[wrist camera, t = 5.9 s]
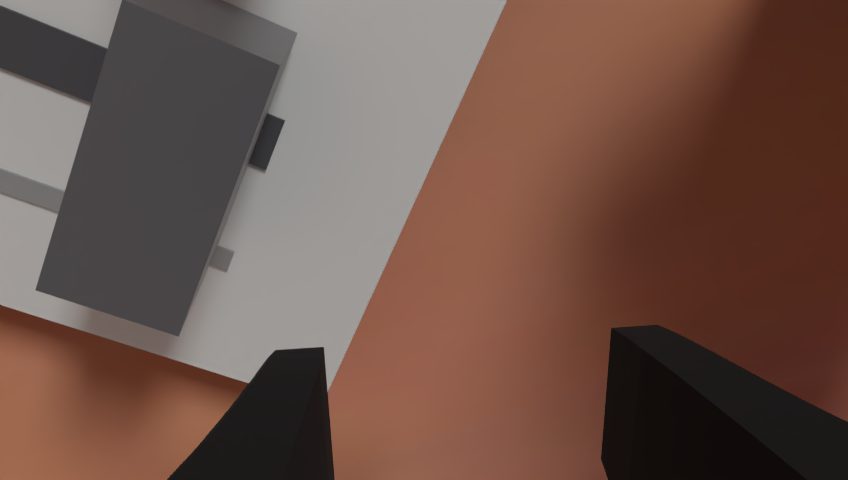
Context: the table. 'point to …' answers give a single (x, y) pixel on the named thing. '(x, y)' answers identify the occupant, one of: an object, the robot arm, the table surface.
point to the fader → (162, 157)
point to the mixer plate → (252, 167)
